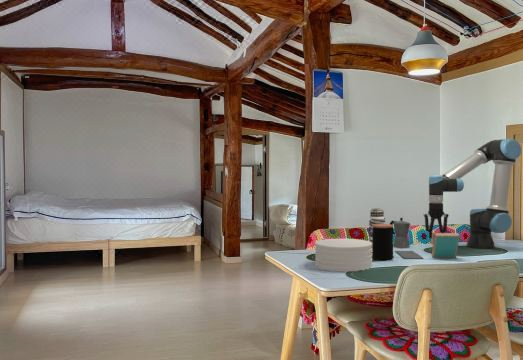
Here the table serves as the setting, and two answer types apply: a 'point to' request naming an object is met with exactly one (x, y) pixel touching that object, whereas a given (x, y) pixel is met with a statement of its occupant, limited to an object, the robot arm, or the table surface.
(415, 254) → the rubber mat
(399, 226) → the coffeepot
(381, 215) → the decorative candle
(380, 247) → the coffee jar
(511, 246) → the table surface
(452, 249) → the glazed tile
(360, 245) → the plate stack
